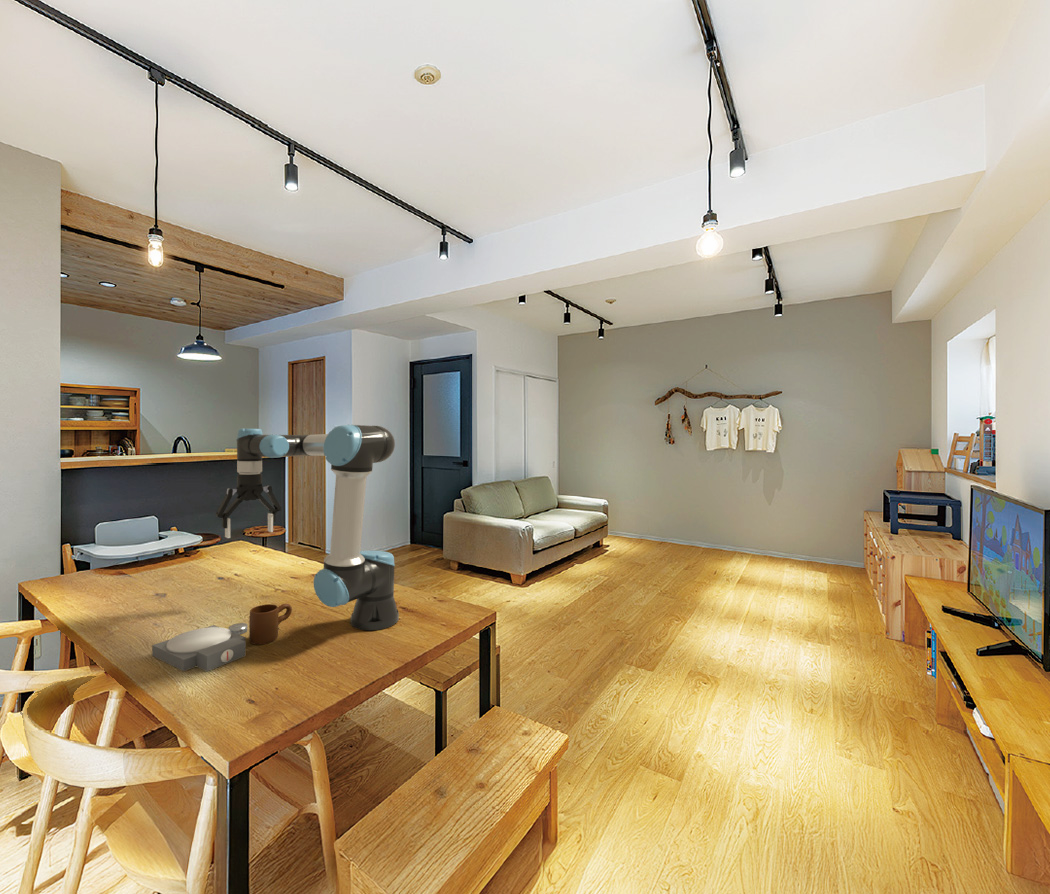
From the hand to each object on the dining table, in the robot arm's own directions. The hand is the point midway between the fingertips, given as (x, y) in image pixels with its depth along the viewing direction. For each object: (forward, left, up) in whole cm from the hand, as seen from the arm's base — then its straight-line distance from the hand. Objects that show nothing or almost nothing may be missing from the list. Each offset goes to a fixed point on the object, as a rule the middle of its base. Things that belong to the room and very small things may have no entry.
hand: (249, 534), depth 166 cm
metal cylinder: (-16, +13, -26) cm, 33 cm away
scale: (-22, +26, -26) cm, 43 cm away
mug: (-28, +10, -26) cm, 39 cm away
